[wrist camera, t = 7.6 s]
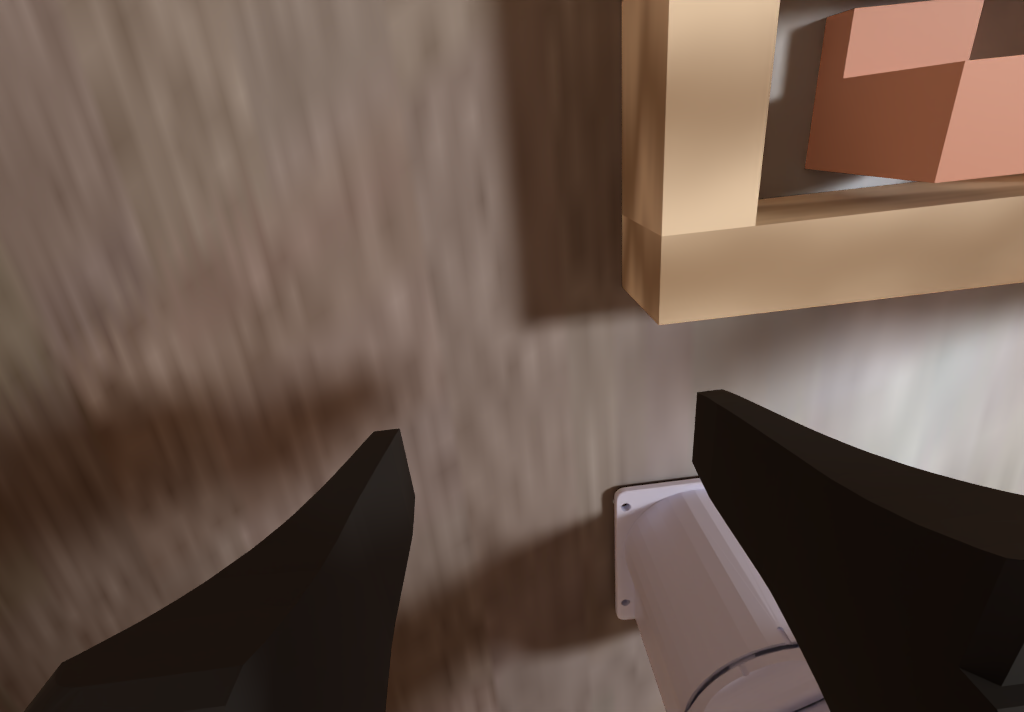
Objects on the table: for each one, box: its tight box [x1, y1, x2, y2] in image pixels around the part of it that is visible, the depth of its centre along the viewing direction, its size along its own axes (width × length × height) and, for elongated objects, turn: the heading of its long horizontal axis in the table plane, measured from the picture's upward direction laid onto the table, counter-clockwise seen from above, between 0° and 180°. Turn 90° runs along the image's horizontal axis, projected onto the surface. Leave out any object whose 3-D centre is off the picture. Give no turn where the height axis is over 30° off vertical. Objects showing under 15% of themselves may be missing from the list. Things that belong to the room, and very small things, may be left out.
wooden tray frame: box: [622, 0, 1024, 325], centre depth 16 cm, size 13×19×4 cm
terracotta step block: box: [805, 0, 1024, 183], centre depth 16 cm, size 5×4×6 cm
